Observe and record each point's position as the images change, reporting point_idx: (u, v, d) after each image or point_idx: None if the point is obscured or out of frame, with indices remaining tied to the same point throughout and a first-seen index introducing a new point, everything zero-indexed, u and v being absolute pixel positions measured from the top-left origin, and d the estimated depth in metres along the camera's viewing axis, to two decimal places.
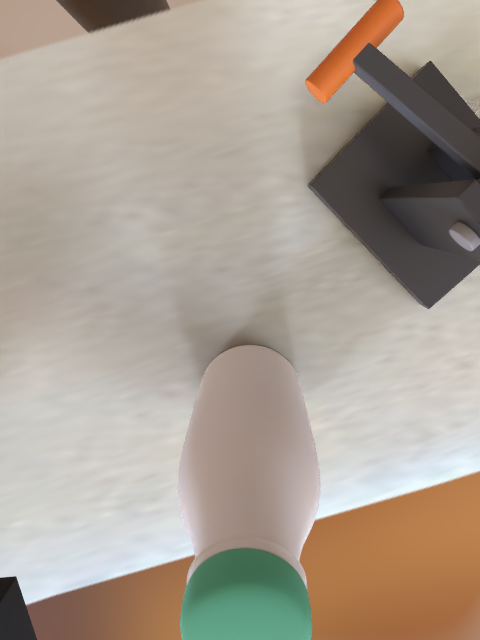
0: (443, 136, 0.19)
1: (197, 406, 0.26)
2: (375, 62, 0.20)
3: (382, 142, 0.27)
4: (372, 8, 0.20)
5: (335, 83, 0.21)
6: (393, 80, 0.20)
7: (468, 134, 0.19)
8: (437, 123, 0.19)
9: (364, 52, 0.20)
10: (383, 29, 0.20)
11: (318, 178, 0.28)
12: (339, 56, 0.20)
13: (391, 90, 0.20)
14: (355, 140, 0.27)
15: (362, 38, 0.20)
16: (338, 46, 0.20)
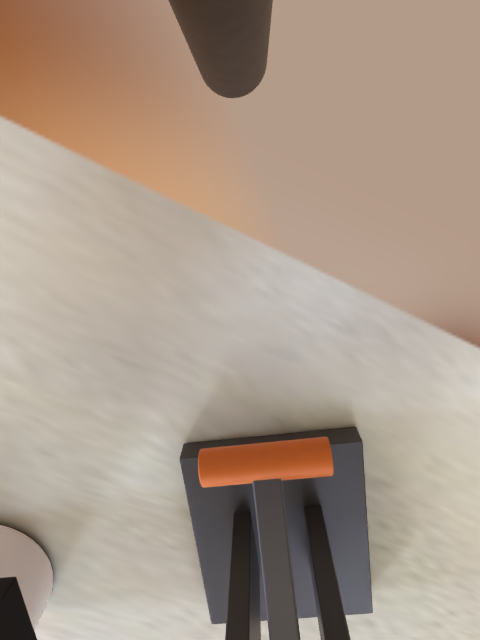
0: (272, 638, 0.16)
1: None
2: (270, 504, 0.16)
3: None
4: (307, 449, 0.16)
5: (222, 485, 0.16)
6: (272, 538, 0.16)
7: None
8: (277, 619, 0.16)
9: (268, 484, 0.16)
10: (302, 476, 0.16)
11: (191, 458, 0.24)
12: (242, 470, 0.16)
13: (263, 546, 0.16)
14: None
15: (275, 472, 0.16)
16: (250, 455, 0.16)
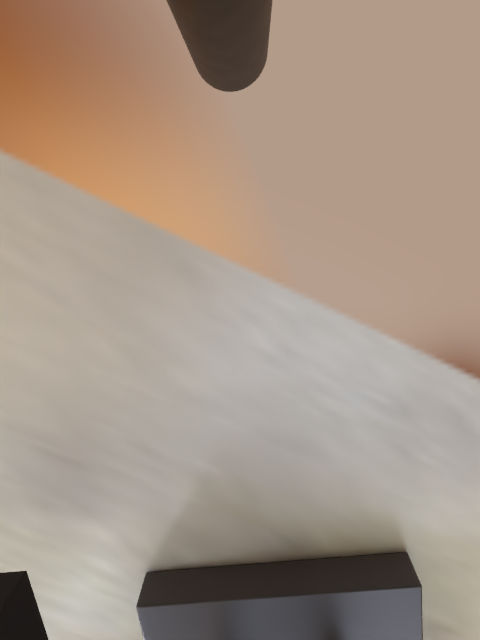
0: None
1: None
2: None
3: (278, 628, 0.15)
4: None
5: None
6: None
7: None
8: None
9: None
10: None
11: (154, 607, 0.15)
12: None
13: None
14: (243, 601, 0.15)
15: None
16: None
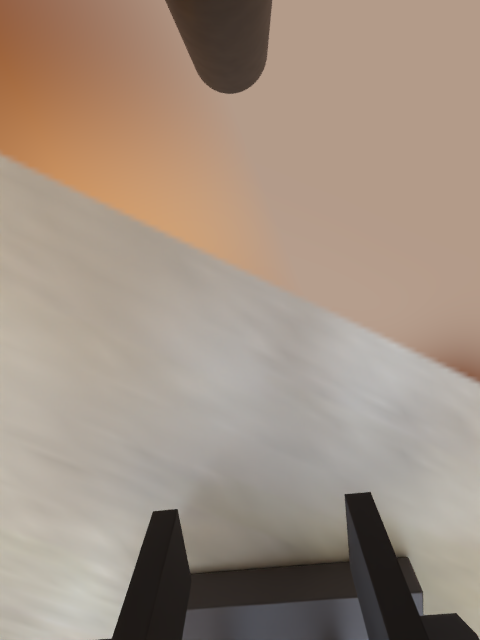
0: None
1: None
2: None
3: (277, 634, 0.15)
4: None
5: None
6: None
7: None
8: None
9: None
10: None
11: None
12: None
13: None
14: (243, 607, 0.15)
15: None
16: None
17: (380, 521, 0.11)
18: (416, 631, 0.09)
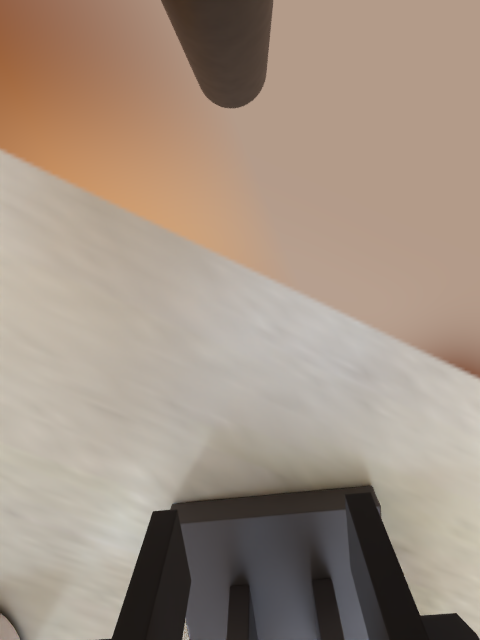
0: None
1: None
2: None
3: (273, 540, 0.20)
4: None
5: None
6: None
7: None
8: None
9: None
10: None
11: (180, 524, 0.20)
12: None
13: None
14: (247, 519, 0.20)
15: None
16: None
17: (380, 521, 0.11)
18: (416, 631, 0.09)
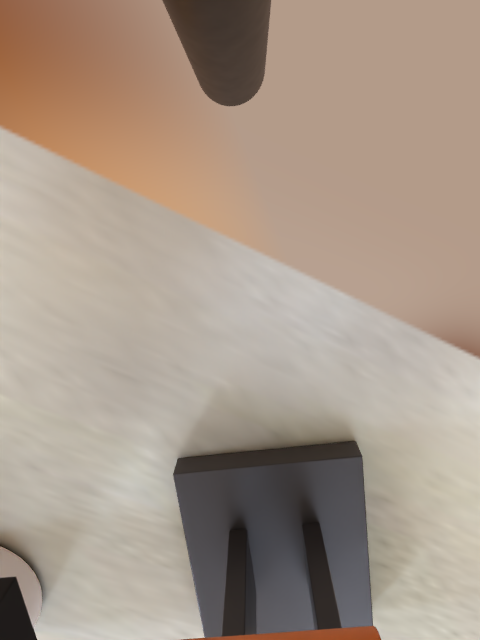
0: None
1: None
2: None
3: (268, 488, 0.23)
4: None
5: None
6: None
7: None
8: None
9: None
10: None
11: (185, 474, 0.23)
12: None
13: None
14: (244, 468, 0.23)
15: None
16: None
17: None
18: None
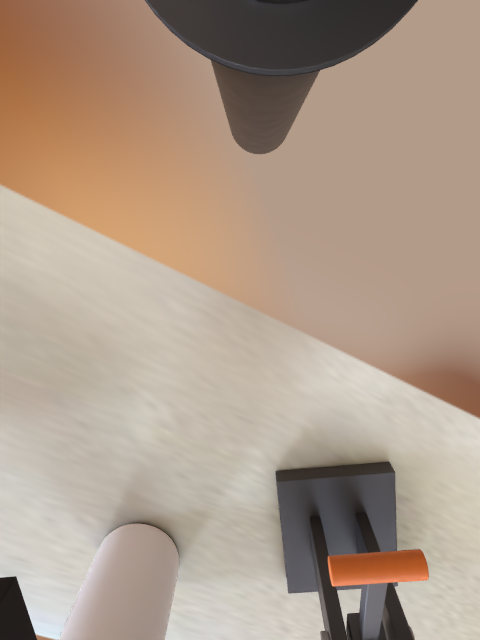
0: (365, 626, 0.26)
1: (99, 591, 0.33)
2: (378, 590, 0.24)
3: (335, 491, 0.37)
4: (411, 572, 0.22)
5: None
6: (375, 600, 0.24)
7: (376, 630, 0.27)
8: (369, 621, 0.26)
9: (379, 583, 0.23)
10: None
11: (284, 481, 0.37)
12: (363, 583, 0.23)
13: (368, 602, 0.24)
14: (321, 479, 0.37)
15: (387, 582, 0.23)
16: (370, 575, 0.22)
17: None
18: None
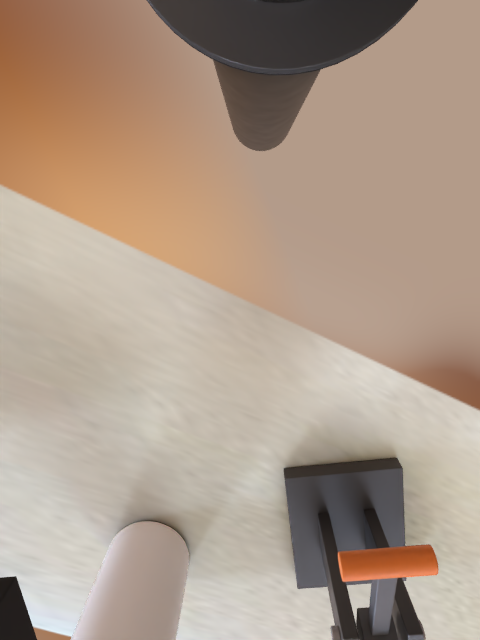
0: (375, 620, 0.27)
1: (111, 588, 0.33)
2: (388, 585, 0.24)
3: (343, 487, 0.37)
4: (421, 567, 0.23)
5: None
6: (385, 595, 0.24)
7: (386, 624, 0.27)
8: (380, 615, 0.26)
9: (389, 578, 0.23)
10: None
11: (292, 478, 0.37)
12: (374, 578, 0.23)
13: (378, 597, 0.25)
14: (329, 475, 0.37)
15: (396, 577, 0.23)
16: (380, 570, 0.23)
17: None
18: None
